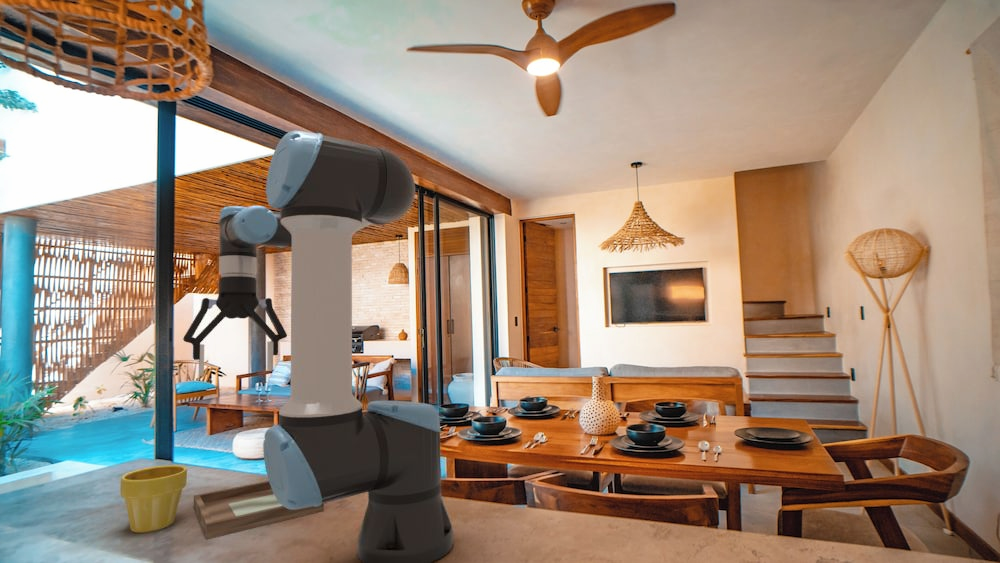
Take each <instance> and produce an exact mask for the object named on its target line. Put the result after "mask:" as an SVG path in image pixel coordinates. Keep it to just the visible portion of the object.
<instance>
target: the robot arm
mask: <svg viewBox="0 0 1000 563" xmlns="http://www.w3.org/2000/svg"><path fill="white" fill-rule="evenodd" d="M265 194H266V195H265V196H266V201H267V203H268V205H269V207H271V208H273V209H274V210H280V211H272V210H270V209H269V208H267V207H266V206H262V205H258V204H257V205H249V206H240V205H230V206H225V207H223V208H221V210H220V212H219V221H218V226H219V232H218V234H219V235H218V236H219V245H218V246H219V247H218V248H219V249H218V250H219V253H218V254H219V256H218V257H219V258H218V275H220V276H221V277H220V278H219V279H218V294H217V295H218V297H217V299H211V298H207V297H205V298H203V299H202V300H201V305H200V309H199V311H198V313H197V314H196V316H195V317H194V319H193V321H192V323H191V324H190V326H189V328H188V330H187V331H186V332H185V335H184V336H183V338H182V340H183V341H184V342H186V343H189V344H192V359H193V360H194V361H198V376H200V377H202V376H203V377H204V376H205V344H203V343H202V342H203V341H204V339H205V338H207V336H208V335H209V334H210V333H212V331H213V330H214V329H215V328H216V327H217V326H219V324H220V323H221V322H222V321H223V320H224V319H225V318H227V319H246V318H249V319H251V320H252V321H253V323H255V325H257V326H258V328H260V330H261V331H262V332H263V333H264V334H265V335H266V337H268V338H269V339H270V340H269V341H267V354H266V355H267V356H266V358H267V360H266V362H267V365H266V370H267V371H270V372H271V371H274V356H278V354H279V342H280V340H282V339H285V338H287V337H288V334H287V332H286V330H285V328H284V327H283V324H282V323H281V321H280V319H279V317H278V315H277V313H276V312H275V309H274V307H273V300H272V298H270V297H268V298H265V299H258V296H257V278H256V277H255V276H256V275H257V270H258V269H257V266H258V264H257V263H258V262H257V256H258V255H257V247H258V246H263V247H264V246H265V247H281V248H291V260H290V261H291V262H290V263H291V264H290V265H291V267H290V268H291V271H290V272H291V273H290V274H291V275H290V276H291V279H290V281H291V282H290V283H291V284H290V285H291V287H290V288H291V292H290V305H291V306H290V396H289V397H290V398H289V400H288V401H287V402H286V403H285V404H284V405H283V406H282V407H281V408H280V409H279V412H278V424H274V425H272V426H271V427H269V428H267V429H266V431H265V433H264V440H263V445H262V446H263V447H262V448H263V450H262V451H263V460H264V465H265V472H266V475H267V479H268V481H269V483H270V485H271V488H272V491H273V493H274V495H275V497H276V498H277V500H278V501H279V503H280V504H281V505H282V506H284V507H285V508H287V509H291V510H296V509H301V508H306V507H311V506H315V507H316V506H320V505H321V504H329V503H332V502H334V501H338V500H339V501H340V500H343V499H345V498H350V497H354V496H358V495H360V494H364V493H368V496H367V497H368V502H367V506H366V508H365V513H364V515H363V518H362V523H361V527H360V529H359V531H358V532H359V533H358V537H357V541H356V543H357V547H356V548H357V551H356V552H357V553H356V554H357V557H358V559H359V561H361V562H362V563H433V562H436V561H437V560H439V559H441V558H443V557H444V556H446V555H447V554H448V553H449V552H450V551H451V550H452V548H453V545H454V534H453V533H454V531H453V530H454V529H453V525H452V523H451V520H450V516H449V514H448V511H447V508H446V504H445V502H444V499H443V496H442V471H441V468H442V467H441V464H442V463H441V461H442V460H441V434H442V430H441V423H440V415H439V410H438V409H437V408H436V407H435V406H434V405H432V404H429V403H423V402H417V401H416V402H415V401H405V400H401V401H400V400H374V401H373V400H372V401H369V402H368V403H367V407H366V408H365V409H366V412H363V403H361V401H360V400H359V399H357V398H356V396H355V395H354V394H353V326H352V325H353V295H352V294H353V286H352V285H353V276H352V275H353V270H352V269H353V268H352V267H353V258H352V257H353V255H352V254H353V252H352V251H353V250H352V249H353V245H352V244H353V243H352V242H353V241H352V239H353V236H354V234H356V233H357V232H358V231H359V230H363V229H364V228H366V227H369V226H370V225H375V226H384V225H386V224H390V223H393V222H395V221H397V220H399V219H401V218H402V217H403V216H405V214H407V213H408V212H409V210H410V209H411V207H412V204H413V203H414V200H415V195H416V184H415V179H414V177H413V174H412V172H411V170H410V168H409V166H408V165H407V164H406V162H405V161H404V160H403V159H402V158H401V157H399V156H398V155H396V154H395V153H393V152H392V151H391V150H388V149H387V148H383V147H379V146H372V145H369V144H363V143H359V142H355V141H352V140H348V139H347V140H346V139H343V138H339V137H334V136H330V135H324V134H322V133H320V132H316V133H315V132H309V131H301V130H291V131H289V132H287V133H285V134H284V136H283V137H282V138H281V139H280V140H279V142H278V144H277V145H276V147H275V150H274V152H273V155H272V157H271V161H270V164H269V168H268V172H267V177H266V184H265ZM214 305H215V306H216V307H217V308H218V310H219V311H220V312H219V313H218V314H217V315H216V316H215V317H214V318H212V320H211V321H210V322H209V323H208V324H207V326H205V328H204V329H202V330H201V332H199V334H198V335H197V336H196V337H193V336H194V335H195V333H196V331H197V329H198V328H199V326H200V325H201V323H202V321H203V320H204V318H205V316H206V314H207V312H208V310H210V309H212V308H213V306H214ZM258 306H261V308H262V309H264V310H265V312H266V314H267V317H268V318H269V320H270V322H271V323H272V326H273V327H274V329H275V331H276V333H277V334H276V333H275V332H274V331H273V330H272V328H271V327H270V326H269V325H268V324H267V323H266V322H265V321H264V320H263V319H262V318H261V317H260V315H259V314H258V313H257V312H256V311H255V310H256V308H257V307H258ZM201 343H202V344H201Z"/></svg>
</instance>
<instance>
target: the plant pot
mask: <svg viewBox="0 0 1000 563" xmlns="http://www.w3.org/2000/svg"><path fill="white" fill-rule="evenodd" d="M187 477H188V468H187V467H186V466H185V465H180V464H171V465H170V464H168V465H157V466H150V467H146V468H140V469H136V470H134V471H129V472H127V473H125V474H124V475H122V476H121V478H120V486H119V487H120V497H122V498H124V502H125V505H126V511H127V516H128V520H129V521H128V522H129V527H130V530H131V532H134V533H149V532H150V533H151V532H155V531H158V530H162V529H164V528H167V527H169V526H171V525H172V524H174V522H175V517H176V514H177V510H178V506H179V501H180V498H181V495H182V491H183V489H184V488H186V486H187V481H188V480H187Z"/></svg>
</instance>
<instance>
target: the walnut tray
mask: <svg viewBox="0 0 1000 563" xmlns="http://www.w3.org/2000/svg"><path fill="white" fill-rule="evenodd" d="M324 504H325V503H324ZM324 504H321V505H320V506H316V507H315V506H311V507H306V508H301V509H296V510H291V509H287V508H285V507H284V506H282V505H281V504H280V503H279V501H278V500H277V498H276V497H275V495H274V493H273V491H272V488H271V485H270V483H269V480H268V481H267V480H266V481H261V482H256V483H250V484H246V485H240V486H236V487H230V488H225V489H220V490H215V491H211V492H206V493H200V494H199V493H198V494H194V495H193V510H194V512H195V515H196V517H197V519H198V521H199V524H200V526H201V529H202V530H203V533H204V537H205V538H206V540H209V539H212V538H216V537H220V536H225V535H228V534H233V533H237V532H242V531H245V530H251V529H253V528H257V527H258V528H259V527H262V526H266V525H270V524H273V523H274V524H275V523H278V522H283V521H286V520H291V519H295V518H298V517H303V516H308V515H311V514H315V513H320V512H324Z"/></svg>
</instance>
